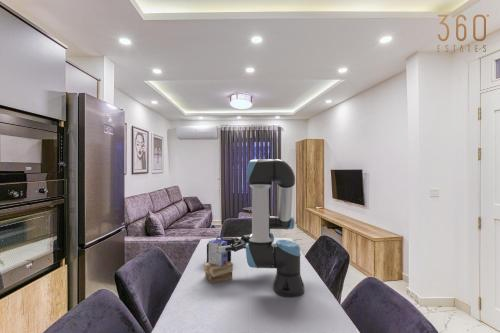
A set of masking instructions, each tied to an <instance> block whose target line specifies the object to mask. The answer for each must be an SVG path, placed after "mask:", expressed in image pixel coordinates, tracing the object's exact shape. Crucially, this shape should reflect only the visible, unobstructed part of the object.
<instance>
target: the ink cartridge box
mask: <svg viewBox="0 0 500 333" xmlns="http://www.w3.org/2000/svg"><path fill="white" fill-rule="evenodd" d="M222 238H223V236H218V235H217V236H216V239H211V240H209V241H208V243H209V262H207V263H211V264H215V265H218V266H223V265H226V264H228V253H227V251H226V252H220V253H219V247H222V246H228V242H226V241H221V240H222Z"/></svg>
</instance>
